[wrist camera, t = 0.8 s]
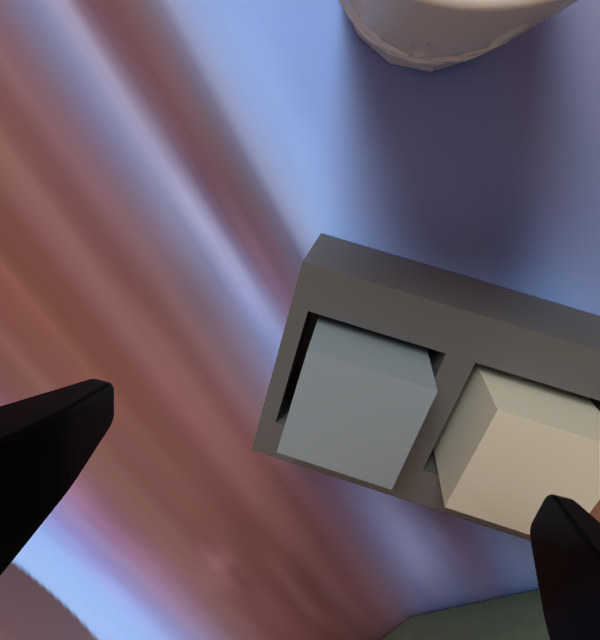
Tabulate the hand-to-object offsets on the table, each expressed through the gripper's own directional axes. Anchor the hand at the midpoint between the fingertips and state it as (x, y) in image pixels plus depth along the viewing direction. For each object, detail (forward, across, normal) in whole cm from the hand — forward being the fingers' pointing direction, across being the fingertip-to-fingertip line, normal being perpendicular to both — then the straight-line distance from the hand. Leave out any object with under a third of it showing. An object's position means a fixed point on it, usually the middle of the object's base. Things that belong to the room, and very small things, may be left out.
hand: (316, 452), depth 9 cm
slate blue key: (+7, -1, +2) cm, 8 cm away
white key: (+7, -7, +3) cm, 10 cm away
